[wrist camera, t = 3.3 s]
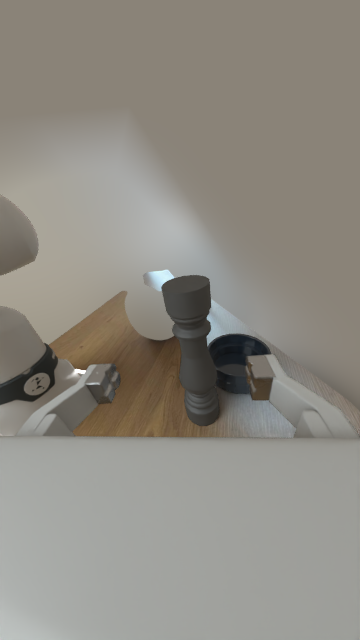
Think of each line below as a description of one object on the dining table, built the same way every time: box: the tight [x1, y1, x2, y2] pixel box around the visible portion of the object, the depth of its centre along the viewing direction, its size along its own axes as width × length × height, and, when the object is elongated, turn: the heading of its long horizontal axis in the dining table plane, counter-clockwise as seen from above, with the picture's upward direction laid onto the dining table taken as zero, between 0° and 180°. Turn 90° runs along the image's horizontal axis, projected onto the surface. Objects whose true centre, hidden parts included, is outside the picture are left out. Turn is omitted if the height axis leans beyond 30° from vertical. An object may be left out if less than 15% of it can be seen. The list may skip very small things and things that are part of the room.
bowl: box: [207, 334, 271, 394], centre depth 39 cm, size 13×13×6 cm
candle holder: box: [161, 275, 219, 426], centre depth 27 cm, size 6×6×25 cm
